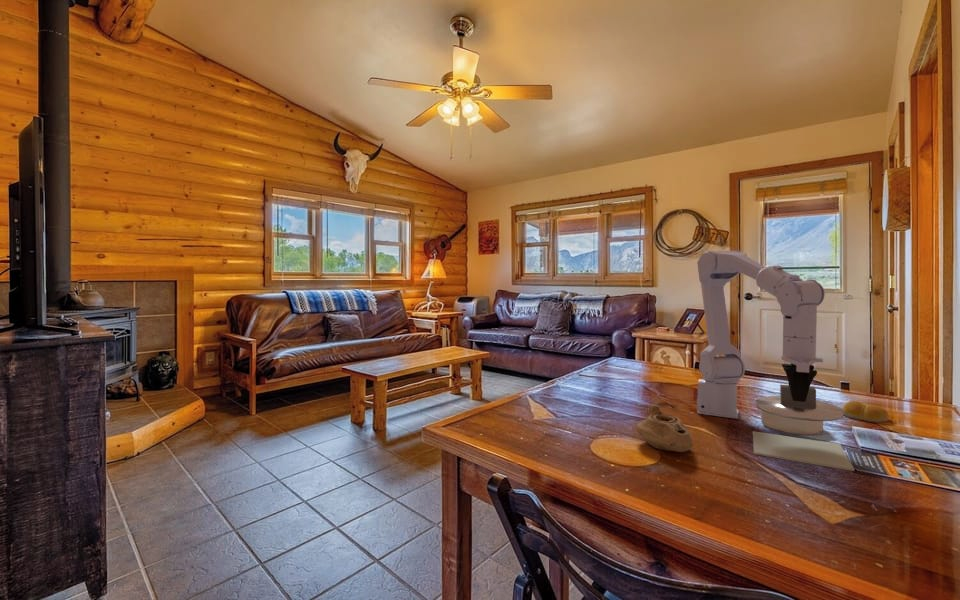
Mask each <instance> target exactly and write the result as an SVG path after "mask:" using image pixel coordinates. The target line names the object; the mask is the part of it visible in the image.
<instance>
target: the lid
mask: <svg viewBox="0 0 960 600" xmlns="http://www.w3.org/2000/svg"><path fill="white" fill-rule="evenodd" d="M779 390H780V391H779V395H778V396H776V395H773V396H771V395H770V396H762V397H759V398H756V400H755V401H756V403H755V406H756V408H757V409H758V410H760V411H761V410H762V411H764V412H767V413H770V414H773V415H777V416H781V417H786V418H791V419H798V420H807V421H823V422H833V421H835V422H836V421H839V420H842V418H844V415H843V410H842V407H839V406H837V405H835V404H831V403H828V402H825V401H821V400H817V389H816V387H815V386H810V387H809V391H808V395H807V398H806V401H805V402H801V401H793V398H792V395H791V389H790V385H789V384H779Z"/></svg>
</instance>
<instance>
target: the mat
mask: <svg viewBox="0 0 960 600" xmlns="http://www.w3.org/2000/svg"><path fill="white" fill-rule="evenodd" d="M752 444H753V445H752V446H753V454H754V455H758V456H764V457H769V458H774V459H775V458H776V459H780V460H786V461H793V462H799V463H803V464H804V463H805V464H811V465H815V466H822V467H828V468H834V469H840V470H845V471H853V472H855V468H854V466H853V465H852V463H851V461H850V459H849V457H848V455H847V454H846V452H845V450H844V448H843V447H842V445H841V443H834V442H829V441H821V440H814V439H808V438H803V437H802V438H801V437H795V436H787V435H780V434H775V433H767V432H759V431H754V430H753V431H752Z"/></svg>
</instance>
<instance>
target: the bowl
mask: <svg viewBox="0 0 960 600" xmlns="http://www.w3.org/2000/svg"><path fill="white" fill-rule="evenodd" d="M760 419H761V420H760V421H761V424H762V425H763V426H765V427H766V428H770V429H773V430H775V431H779V432H784V433H788V434H795V435H806V436H809V435H812V436H813V435H817V434H820V433H822V431H823V430H824V421H807V420H798V419H791V418H786V417H781V416H777V415H773V414H770V413H767V412H764V411H762V410H760Z"/></svg>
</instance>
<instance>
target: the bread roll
mask: <svg viewBox="0 0 960 600" xmlns="http://www.w3.org/2000/svg"><path fill="white" fill-rule="evenodd" d="M841 409H842V410H843V417H844V416H845V417H848V418H851V419H854V420H859V421H862V420H863V421H865V422H869V423H870V422H872V423H884V422H888V420H890V419H889V416H890V415H889V412H888V411H887V410H886V409H885V408H883V407H882V406H880V405H875V404H865V403H863V402H860V401H856V400H851V401H848V402H845V404H843V405H842V406H841Z"/></svg>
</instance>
